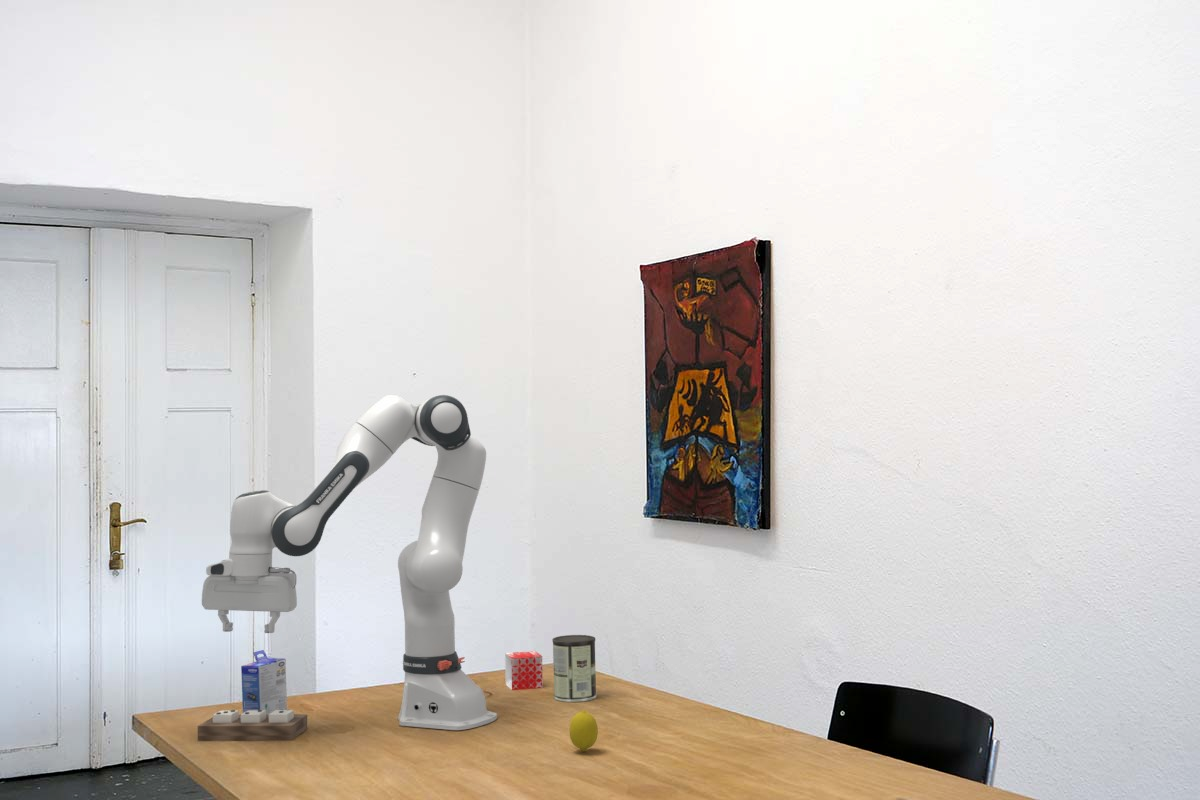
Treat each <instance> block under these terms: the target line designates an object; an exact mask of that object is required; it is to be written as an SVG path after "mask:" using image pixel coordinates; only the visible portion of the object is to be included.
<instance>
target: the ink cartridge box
mask: <svg viewBox="0 0 1200 800" xmlns="http://www.w3.org/2000/svg"><path fill="white" fill-rule="evenodd" d="M252 653H253V657H254V659H255V661H253V662H249V663H247V664H244V665H241V667H240V668H241V670H240V671H241V693H242V694H241V697H242V698H241V699H242V701H241V702H242V704H241V705H242V714H243V713H244V712H246V711H248V710H266V715H269V714H270V713H272V712H273V711H275V710H288V703H287V702H288V697H287V667H286V665H287V663H286V658H282V657H268V656H267V653H266V651H265V650H264V649H261V650H257V651H253V652H252ZM258 655H263V656H260V657H259V656H258Z"/></svg>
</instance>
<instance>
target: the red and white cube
mask: <svg viewBox="0 0 1200 800" xmlns="http://www.w3.org/2000/svg"><path fill="white" fill-rule="evenodd" d="M504 658H505V659H504V661H505V662H504V664H505V666H504V667H505V669H504V670H505V672H504V673H505V676H504V677H505V685H506V686H507V687H508V688H509V689H510V690H511V691H521V690H534V689H535V690H536V689H543V688H544V679H543V678H544V677H543V674H544V673H543V670H544V669H543V655H542V654H540V653H539V652H538V651H536V650H529V651H517V652H516V651H515V652H505V653H504Z"/></svg>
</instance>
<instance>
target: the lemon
mask: <svg viewBox="0 0 1200 800" xmlns="http://www.w3.org/2000/svg"><path fill="white" fill-rule="evenodd" d="M598 731H599V729H598V723H597V721H596V719H595V717H594V716H593V715H592V713H589V712H588V711H586V710H584V709H583V710H580V711H579V712H578V713H575V715H574V716H573V717H572V718H571V721H570V724H569V738H570V741H571V743H572V744H573V745H574V746H575V747H576V748H578V749H579V750H581V752H583V753H584V752H586V751H587V750H588V749H590V748H591V747H593V746H594V745H595V743H596V742H597V740H598V735H599V734H598Z"/></svg>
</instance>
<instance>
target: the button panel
mask: <svg viewBox="0 0 1200 800" xmlns="http://www.w3.org/2000/svg"><path fill="white" fill-rule="evenodd" d="M307 729H308V713H307V714H304V713H303V714H301V713H300V714H295V713H294V719H293V720H291V721H290V722H288V723H269V715H266V719H265V720H264V721H262V722H261V723H241V714H239V719H238V720H236V721H234V722H233V723H213V716H212V717H210V718H209V719H207V720H206V721H204V722H202V723H201V724H199V725H197V741H198V742H201V741H202V742H203V741H204V742H206V741H207V742H209V741H210V742H211V741H212V742H213V741H214V742H215V741H216V742H217V741H218V742H219V741H220V742H221V741H223V742H226V741H228V742H231V741H238V742H239V741H240V742H243V741H251V742H252V741H293V740H295V739H296V738H297V737H298V736H300V735H301V734H302V733H304V732H305V731H306V730H307Z"/></svg>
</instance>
